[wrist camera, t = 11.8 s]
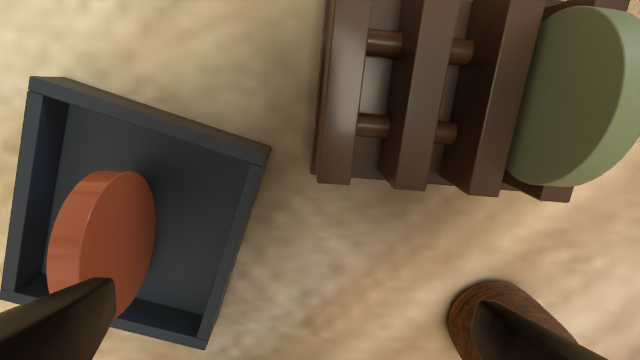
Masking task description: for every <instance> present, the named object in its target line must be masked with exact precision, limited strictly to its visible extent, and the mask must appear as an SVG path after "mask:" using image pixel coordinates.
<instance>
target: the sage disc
mask: <svg viewBox="0 0 640 360" xmlns="http://www.w3.org/2000/svg"><path fill="white" fill-rule="evenodd" d="M639 136H640V20H639V19H638V18H636V17H635V16H633V15H632V14H629V13H627V12H625V11H621V10H616V9H609V8H600V7H592V6H575V7H570V8H566V9H564V10H561V11H559V12H557V13H555V14H553V15H551V16H550V17H548V18H547V19H545V20H544V21H543V22H541V24H540V28H539V32H538V36H537V40H536V44H535V48H534V52H533V56H532V61H531V65H530V69H529V73H528V77H527V81H526V85H525V89H524V93H523V98H522V102H521V106H520V110H519V114H518V118H517V122H516V126H515V130H514V135H513V139H512V143H511V147H510V151H509V155H508V159H507V163H506V167H505V168H506V169H507V170H508V171H509V173H510V174H511V175H513V176H514V177H515V178H517V179H518V180H520V181H522V182H525V183H528V184H533V185H543V186H555V187H572V186H576V185H581V184H583V183H586V182H589V181H592V180H593V179H595V178H597V177H599V176H601V175H602V174H604V173H605V172H607V171H608V170H609V169H611V168H612V167H613V166H614V165H616V164H617V163H618V162H619V161H620V160H621V159H622V158H623V157H624V156H625V155H626V153H627V152H628V151H629V150H630V149H631V148H632V146H633V145H634V143H635V142H636V141H637V139H638V138H639Z"/></svg>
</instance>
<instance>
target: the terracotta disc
mask: <svg viewBox="0 0 640 360" xmlns="http://www.w3.org/2000/svg"><path fill="white" fill-rule="evenodd" d="M155 229H156V213H155V204H154V199H153V195H152V192H151V189H150V187H149V185H148V183H147V181H146V180H145V179H144V177H142V176H141V175H140V174H138V173H136V172H133V171H123V170H111V169H102V170H98V171H95V172H93V173H91V174H89V175H87V176H86V177H85V178H83V179H82V180H81V181H80V182H79V183H78V184H77V185H76V186H75V187H74V189H73V190H72V191H71V192H70V194H69V195H68V197H67V198H66V200H65V201H64V203H63V205H62V207H61V209H60V211H59V213H58V216H57V218H56V221H55V223H54V226H53V230H52V233H51V237H50V241H49V246H48V253H47V266H46V272H47V284H48V289H49V293H50V294H51V293H53V292H56V291H59V290H61V289H64V288H66V287H69V286H72V285H74V284H77V283H79V282H82V281H85V280H87V279H90V278H92V277H106V278H112V279H113V280H114V282H115V292H116V314H115V317H114V319H115V318H116V317H118V316H119V315H120V314H122V313H123V312H124V311H125V310H126V309H127V307H128V306H129V305H130V304H131V302H132V301H133V299H134V298H135V296H136V295H137V293H138V291H139V289H140V287H141V285H142V283H143V281H144V278H145V275H146V273H147V270H148V267H149V264H150V260H151V256H152V251H153V246H154V240H155Z"/></svg>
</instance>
